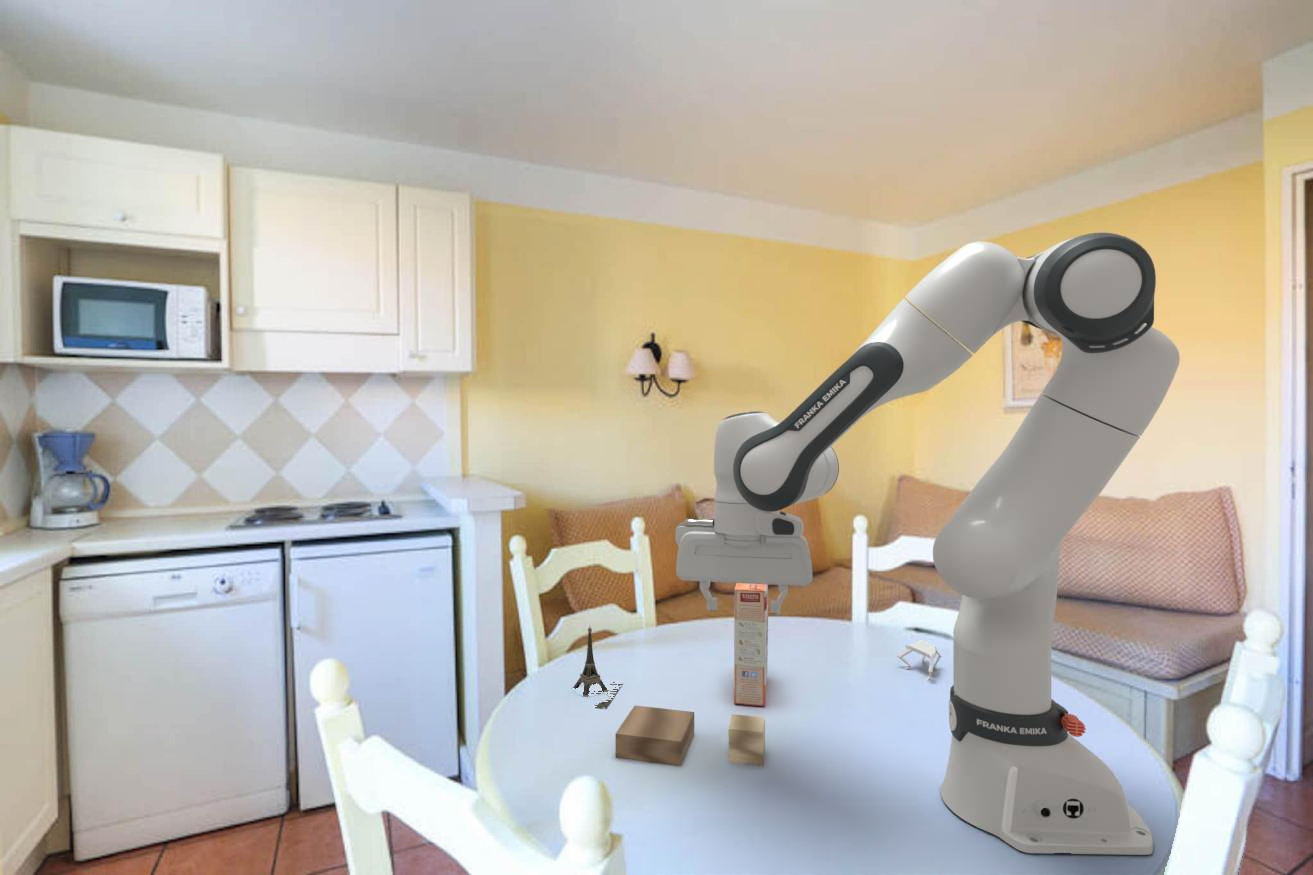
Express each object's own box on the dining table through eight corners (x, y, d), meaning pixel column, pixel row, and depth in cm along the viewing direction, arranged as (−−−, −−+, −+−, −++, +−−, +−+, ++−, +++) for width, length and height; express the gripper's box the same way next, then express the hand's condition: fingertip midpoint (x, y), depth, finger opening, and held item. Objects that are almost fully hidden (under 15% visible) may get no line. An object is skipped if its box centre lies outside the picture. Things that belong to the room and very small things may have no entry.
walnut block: (694, 736, 100) (694, 711, 100) (680, 769, 90) (680, 741, 90) (634, 729, 102) (634, 705, 102) (615, 760, 93) (615, 733, 93)
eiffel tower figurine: (607, 712, 109) (606, 636, 109) (552, 708, 111) (552, 633, 111) (627, 680, 124) (627, 613, 124) (579, 676, 126) (578, 610, 126)
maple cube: (765, 749, 95) (764, 717, 95) (763, 766, 90) (763, 732, 90) (732, 746, 96) (732, 714, 96) (728, 762, 91) (728, 728, 91)
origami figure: (890, 662, 132) (890, 638, 132) (928, 661, 132) (928, 638, 132) (916, 684, 120) (916, 659, 120) (959, 683, 120) (959, 658, 120)
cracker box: (767, 708, 109) (766, 589, 109) (733, 705, 111) (732, 588, 111) (769, 677, 123) (768, 572, 123) (738, 675, 124) (737, 571, 124)
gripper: (671, 521, 92) (671, 614, 92) (813, 524, 88) (813, 622, 88) (678, 515, 99) (678, 602, 99) (811, 519, 94) (811, 610, 94)
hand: (743, 612), depth 93 cm, fingers open, 8 cm apart
